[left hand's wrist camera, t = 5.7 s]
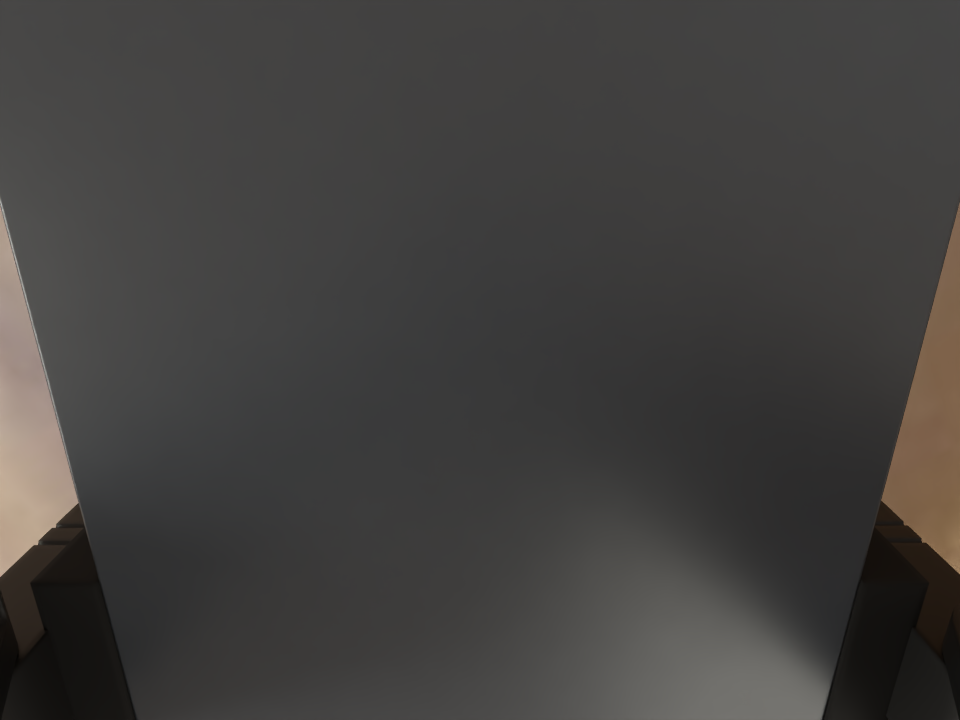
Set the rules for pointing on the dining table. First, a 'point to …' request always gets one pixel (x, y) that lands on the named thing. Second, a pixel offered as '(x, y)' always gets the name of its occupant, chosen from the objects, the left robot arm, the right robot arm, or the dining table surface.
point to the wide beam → (479, 338)
